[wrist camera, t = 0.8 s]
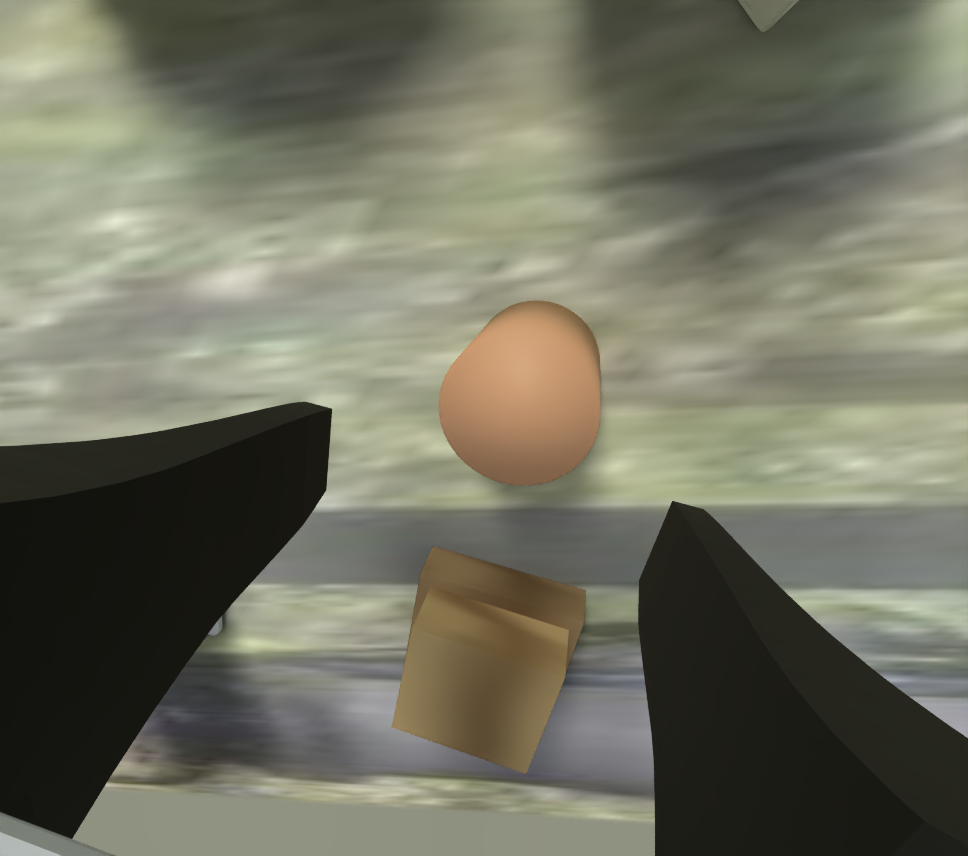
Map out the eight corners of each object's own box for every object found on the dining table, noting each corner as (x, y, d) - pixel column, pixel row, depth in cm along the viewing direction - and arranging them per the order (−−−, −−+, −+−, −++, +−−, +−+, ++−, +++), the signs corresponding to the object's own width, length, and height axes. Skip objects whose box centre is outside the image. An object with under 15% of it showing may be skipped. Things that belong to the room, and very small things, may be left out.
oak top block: (410, 681, 25) (391, 727, 23) (430, 586, 22) (412, 627, 20) (532, 722, 24) (526, 773, 22) (568, 629, 22) (565, 678, 19)
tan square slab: (416, 646, 27) (400, 685, 25) (436, 539, 24) (420, 573, 22) (548, 688, 26) (543, 731, 24) (585, 582, 23) (584, 621, 21)
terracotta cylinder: (465, 404, 21) (428, 462, 16) (487, 287, 19) (452, 316, 14) (580, 434, 20) (574, 502, 16) (616, 317, 18) (622, 357, 14)
